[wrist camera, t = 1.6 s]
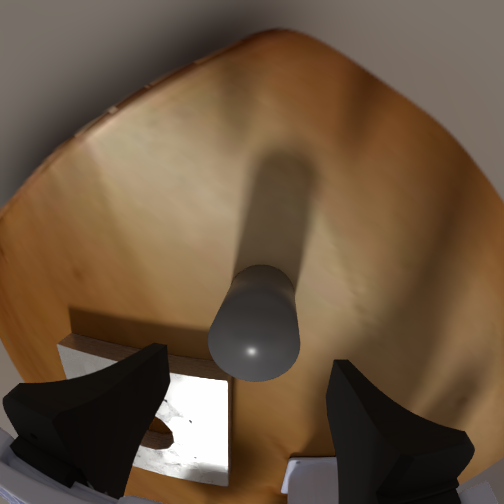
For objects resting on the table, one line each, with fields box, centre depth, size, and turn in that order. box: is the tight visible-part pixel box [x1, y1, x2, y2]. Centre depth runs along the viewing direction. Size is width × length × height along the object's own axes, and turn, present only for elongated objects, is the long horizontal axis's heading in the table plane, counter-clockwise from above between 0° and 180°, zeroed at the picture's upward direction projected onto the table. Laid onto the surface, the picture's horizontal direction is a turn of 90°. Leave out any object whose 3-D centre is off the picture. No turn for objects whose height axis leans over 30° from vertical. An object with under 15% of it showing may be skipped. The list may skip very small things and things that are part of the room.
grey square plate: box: [57, 333, 232, 487], centre depth 23 cm, size 16×16×2 cm
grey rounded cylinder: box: [208, 265, 300, 382], centre depth 17 cm, size 5×5×7 cm
